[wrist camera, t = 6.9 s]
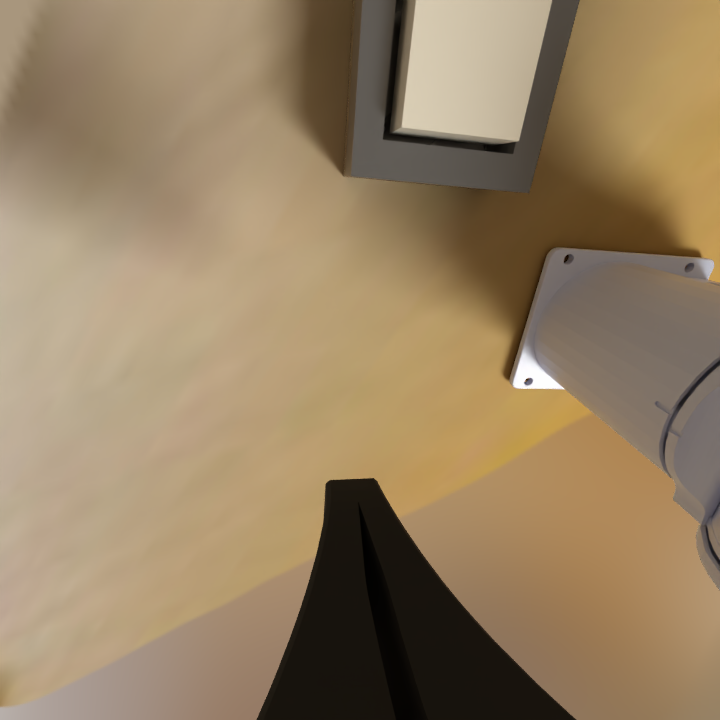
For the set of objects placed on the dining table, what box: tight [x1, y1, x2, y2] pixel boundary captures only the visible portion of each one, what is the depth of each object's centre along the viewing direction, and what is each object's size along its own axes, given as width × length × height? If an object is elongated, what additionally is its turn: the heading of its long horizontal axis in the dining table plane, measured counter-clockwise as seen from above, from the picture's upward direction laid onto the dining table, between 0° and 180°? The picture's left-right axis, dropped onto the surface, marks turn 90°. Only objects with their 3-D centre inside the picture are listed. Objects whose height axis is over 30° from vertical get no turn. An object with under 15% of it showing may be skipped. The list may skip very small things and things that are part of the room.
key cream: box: [389, 0, 552, 146], centre depth 12 cm, size 4×4×2 cm
